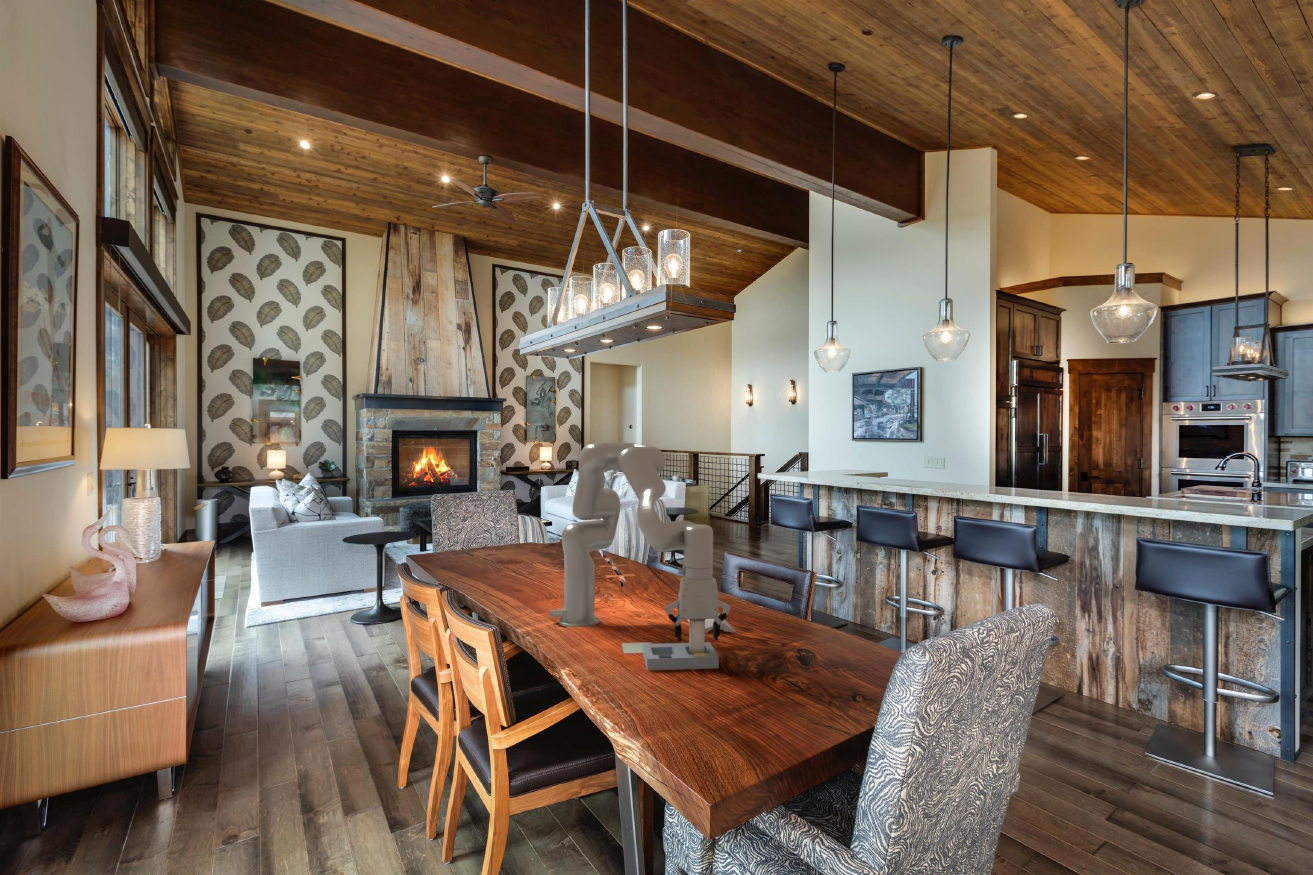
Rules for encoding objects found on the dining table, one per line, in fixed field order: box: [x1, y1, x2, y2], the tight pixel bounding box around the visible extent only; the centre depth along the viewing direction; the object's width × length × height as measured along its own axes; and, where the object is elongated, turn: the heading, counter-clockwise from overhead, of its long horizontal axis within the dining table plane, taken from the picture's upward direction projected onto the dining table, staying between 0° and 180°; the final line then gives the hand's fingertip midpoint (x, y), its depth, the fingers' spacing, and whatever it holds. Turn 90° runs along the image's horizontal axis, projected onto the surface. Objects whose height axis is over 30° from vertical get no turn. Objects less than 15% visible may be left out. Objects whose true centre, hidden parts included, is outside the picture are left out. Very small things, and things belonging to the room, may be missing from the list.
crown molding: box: [686, 612, 736, 634], centre depth 202 cm, size 29×12×4 cm, turn 9°
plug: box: [688, 619, 706, 654], centre depth 161 cm, size 4×4×13 cm
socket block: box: [642, 641, 720, 671], centre depth 161 cm, size 18×11×4 cm, turn 97°
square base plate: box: [621, 642, 652, 654], centre depth 171 cm, size 8×8×1 cm
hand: (697, 638), depth 161 cm, fingers open, 9 cm apart
